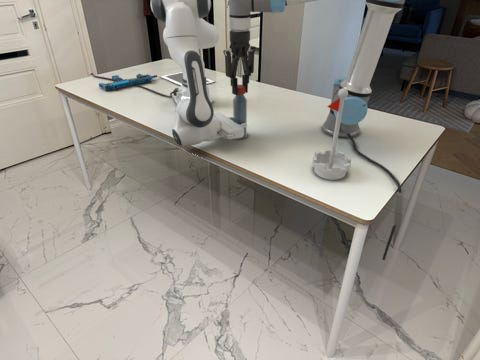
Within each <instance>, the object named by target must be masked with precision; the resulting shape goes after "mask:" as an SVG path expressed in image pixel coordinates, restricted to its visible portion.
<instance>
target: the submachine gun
mask: <svg viewBox="0 0 480 360" xmlns="http://www.w3.org/2000/svg"><path fill="white" fill-rule="evenodd" d="M155 78H158V74H155V75H150V74H148V73H147V74H141V73H137V74H136V77H134V78H124V79H123V78H121V77H120V76H119V75H118V74H117V75H112V76H111V79H114V81H112V82H108V83H104V82H99V83H98V87H99V88H100V89H102V90H104V91H111V90H113V91H114V90H116V91H117V90H119V88H124V87H125V88H126V87H128V86H135V85H134V84H137V85H139V84H142V83H149V82H151V81H152V80H153V79H155Z"/></svg>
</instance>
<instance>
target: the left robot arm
mask: <svg viewBox="0 0 480 360" xmlns="http://www.w3.org/2000/svg"><path fill="white" fill-rule="evenodd" d="M211 7H212V1H211V0H150V9H151V12H152V14H153V16H154V17H155V18H156V19H157V20H158V21H161V22H162V23H163V24H165V27H164V29H163V32H162V39H163V42H164V44H165V45H166V46H167V49H168V52H169V56H170V58H171V60H172V61H173V62H174V63H176V64H177V65H178V66H179V67H180V68H181V72H182V73H183V77H182V85H181V86H179V87H175V88H174V89H173V90H172V91H171V92H170V93H169V95H167V94H163V93H161V92H158V91H156V90H154V89H151V88H148V87H145V86H143V85H139V84H134V85H133V86H134V87H138V88H142V89H143V90H147V91H150V92H152V93H154V94H157V95H158V96H162V97H165V98H173V100H174V102H175V103H176V105H175V122H174V125H173V127H172V129H171V132H172V133H171V134H172V137H173V139H174V141H175V142H176V144H177V145H178V146H181V147H191V146H196V145H199V144H201V143H204V142H211V141H215V140H218V139H219V140H220V138H221V137H222V138H223V139H226V140H236V139H237V138H241V137H243V136H244V128H245V127H248V123H245V122H243V123H242V124H241V125H240V124H239V125H238V124H237V123H235V122H234V121H233V116H226V115H225V114H223V113H222V112H215V111H214V107H213V104H212V103H213V99H212V98H211V94H210V88H209V86H208V84H206V78H207V76H206V68H205V66H206V65H205V61H204V60H203V58H201V54H200V50H202V49H204V50H205V49H211V48H214V47H216V45H217V44H218V41H219V37H220V35H219V31H218V29H217V27H216V26H215V25H214V24H211V23H210V22H208V21H206V20H205V19H203V18H207V17H208V15H209V14H210V10H211ZM90 76H92V77H94V78H99V79H103V80H108V81H112V82H114V79H112V78H111V77H110V78H109V77H104V76H100V75H95V74H94V73H93V72H91V73H90Z"/></svg>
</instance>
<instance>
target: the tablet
mask: <svg viewBox="0 0 480 360" xmlns="http://www.w3.org/2000/svg"><path fill="white" fill-rule="evenodd" d="M182 77H183V73H182V71H179V72H174V73H169V74H165V75H164V74H163V75H161V76H160V78H162V79H164V80H166V81H168V82H170V83H174V84H176V85H178V86H179V87H181V85H182ZM213 83H216V81H215V80H212V79H210V78H207V77H206V85H209V84H213Z"/></svg>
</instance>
